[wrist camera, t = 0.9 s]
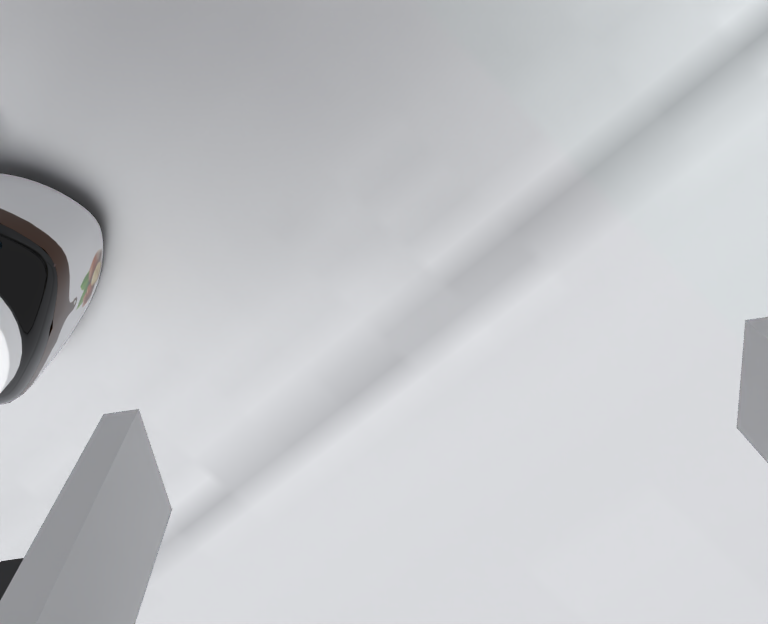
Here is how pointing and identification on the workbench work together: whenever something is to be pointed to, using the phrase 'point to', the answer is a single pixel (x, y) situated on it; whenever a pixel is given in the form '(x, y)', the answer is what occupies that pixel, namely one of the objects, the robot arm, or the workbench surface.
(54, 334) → the spread jar
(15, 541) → the workbench surface
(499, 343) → the workbench surface
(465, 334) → the workbench surface
